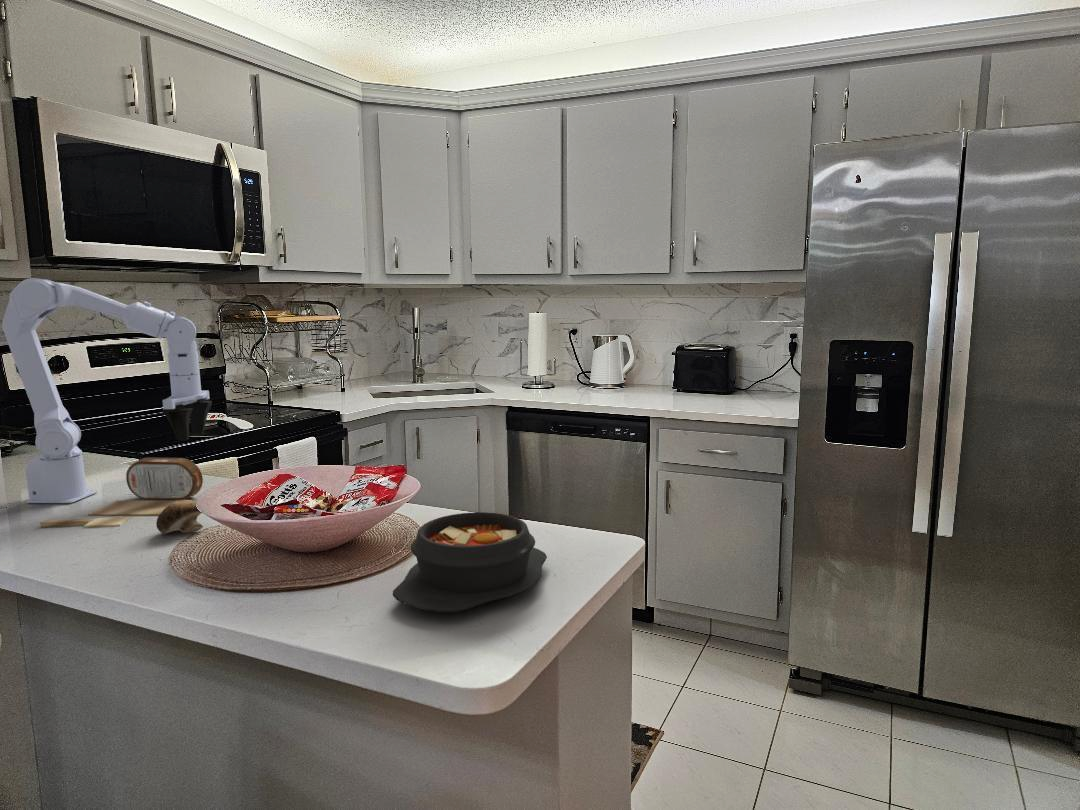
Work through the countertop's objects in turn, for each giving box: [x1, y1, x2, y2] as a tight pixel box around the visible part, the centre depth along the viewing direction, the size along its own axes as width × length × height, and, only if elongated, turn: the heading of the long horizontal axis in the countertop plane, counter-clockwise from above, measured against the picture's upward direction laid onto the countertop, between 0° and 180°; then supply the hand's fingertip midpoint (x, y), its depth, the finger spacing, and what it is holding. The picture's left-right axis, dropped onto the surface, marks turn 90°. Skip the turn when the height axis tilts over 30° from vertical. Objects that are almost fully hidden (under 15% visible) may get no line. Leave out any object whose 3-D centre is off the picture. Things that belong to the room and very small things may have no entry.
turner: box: [40, 516, 132, 529], centre depth 128 cm, size 14×4×1 cm, turn 97°
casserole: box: [392, 511, 548, 613], centre depth 97 cm, size 25×19×8 cm
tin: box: [125, 456, 204, 501], centre depth 143 cm, size 15×3×8 cm, turn 84°
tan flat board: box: [87, 500, 177, 517], centre depth 137 cm, size 17×8×1 cm, turn 87°
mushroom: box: [155, 499, 204, 535], centre depth 122 cm, size 8×8×6 cm
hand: (190, 437), depth 152 cm, fingers open, 6 cm apart
